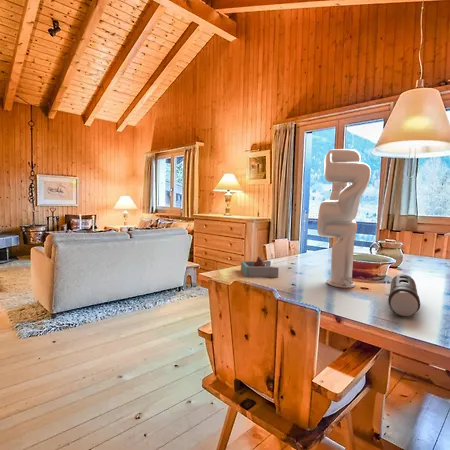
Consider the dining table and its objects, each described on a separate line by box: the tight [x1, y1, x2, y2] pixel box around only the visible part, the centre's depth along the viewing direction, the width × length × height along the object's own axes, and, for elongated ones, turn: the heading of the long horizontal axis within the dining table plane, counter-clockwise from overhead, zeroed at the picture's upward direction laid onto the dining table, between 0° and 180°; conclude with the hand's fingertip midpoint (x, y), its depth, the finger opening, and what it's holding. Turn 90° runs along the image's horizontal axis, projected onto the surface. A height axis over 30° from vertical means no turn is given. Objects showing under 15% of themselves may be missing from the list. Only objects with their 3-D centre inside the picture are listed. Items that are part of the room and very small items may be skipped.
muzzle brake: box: [387, 273, 421, 317], centre depth 118 cm, size 10×28×10 cm, turn 151°
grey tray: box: [240, 260, 280, 278], centre depth 166 cm, size 18×17×5 cm
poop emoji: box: [252, 256, 267, 267], centre depth 165 cm, size 10×8×9 cm
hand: (338, 223), depth 172 cm, fingers closed
